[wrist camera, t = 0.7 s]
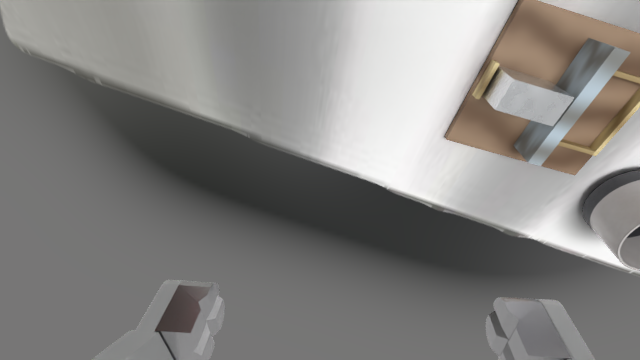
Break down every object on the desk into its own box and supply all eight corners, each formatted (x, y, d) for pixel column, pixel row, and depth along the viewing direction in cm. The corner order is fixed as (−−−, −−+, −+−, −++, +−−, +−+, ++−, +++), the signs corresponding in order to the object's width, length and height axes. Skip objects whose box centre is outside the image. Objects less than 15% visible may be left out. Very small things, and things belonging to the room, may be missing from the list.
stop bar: (495, 64, 43) (513, 79, 39) (550, 81, 44) (574, 97, 39) (479, 92, 46) (495, 109, 41) (531, 108, 46) (552, 126, 41)
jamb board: (521, -5, 40) (545, 1, 35) (679, 46, 41) (724, 59, 36) (444, 135, 51) (454, 156, 46) (570, 171, 53) (593, 194, 48)
